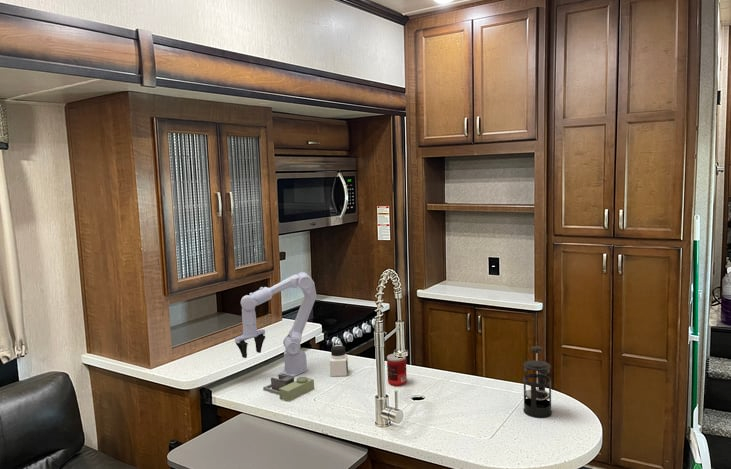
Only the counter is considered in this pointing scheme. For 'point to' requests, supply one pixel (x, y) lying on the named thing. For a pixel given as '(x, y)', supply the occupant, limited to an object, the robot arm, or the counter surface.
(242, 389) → the counter surface
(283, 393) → the grey frame stand
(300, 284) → the robot arm
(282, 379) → the chute
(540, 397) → the french press
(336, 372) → the medicine bottle
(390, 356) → the canned food
